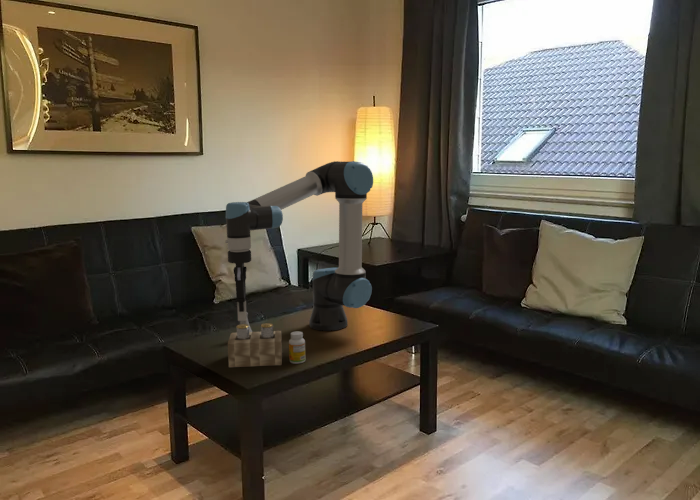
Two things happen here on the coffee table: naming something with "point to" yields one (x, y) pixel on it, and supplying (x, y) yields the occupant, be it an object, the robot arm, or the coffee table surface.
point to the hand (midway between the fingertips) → (242, 320)
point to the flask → (246, 323)
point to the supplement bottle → (297, 348)
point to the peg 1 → (243, 332)
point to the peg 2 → (266, 331)
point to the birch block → (255, 350)
